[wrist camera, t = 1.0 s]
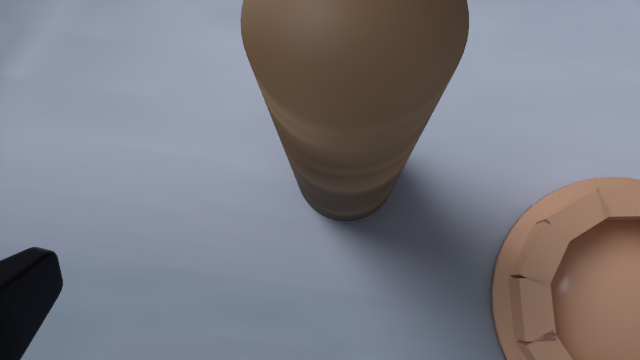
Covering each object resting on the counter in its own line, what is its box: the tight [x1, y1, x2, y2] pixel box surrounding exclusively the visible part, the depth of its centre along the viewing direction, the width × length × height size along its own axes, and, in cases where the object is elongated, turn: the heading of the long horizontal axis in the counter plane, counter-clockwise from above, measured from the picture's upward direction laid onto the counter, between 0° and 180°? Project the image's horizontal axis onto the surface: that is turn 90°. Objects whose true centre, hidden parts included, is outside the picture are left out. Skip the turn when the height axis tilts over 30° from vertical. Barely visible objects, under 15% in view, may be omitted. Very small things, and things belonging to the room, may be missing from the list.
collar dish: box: [491, 177, 640, 360], centre depth 19 cm, size 11×11×2 cm
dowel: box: [241, 0, 469, 221], centre depth 16 cm, size 4×4×13 cm
